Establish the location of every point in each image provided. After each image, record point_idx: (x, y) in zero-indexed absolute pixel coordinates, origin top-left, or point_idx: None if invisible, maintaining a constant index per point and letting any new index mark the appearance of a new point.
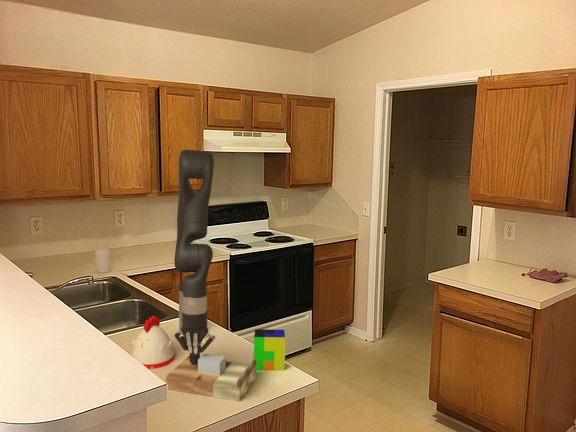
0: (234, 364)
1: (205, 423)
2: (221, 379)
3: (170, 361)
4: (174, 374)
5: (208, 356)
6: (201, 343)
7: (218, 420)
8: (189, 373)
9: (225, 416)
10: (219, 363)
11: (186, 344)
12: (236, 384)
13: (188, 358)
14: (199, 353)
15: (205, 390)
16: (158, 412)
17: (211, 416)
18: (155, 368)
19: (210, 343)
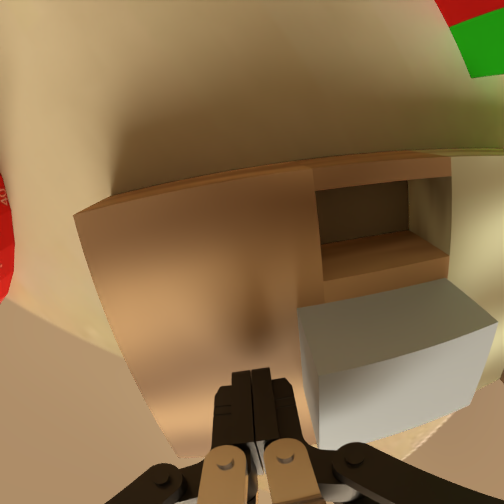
0: (473, 192)
1: (407, 452)
2: None
3: (5, 213)
4: (197, 439)
5: (377, 392)
6: (323, 499)
7: (435, 431)
8: None
9: (449, 414)
10: (466, 403)
11: (150, 498)
12: (499, 364)
13: (105, 261)
14: (302, 440)
15: None
16: (266, 481)
17: (415, 433)
18: (8, 290)
19: (447, 490)
